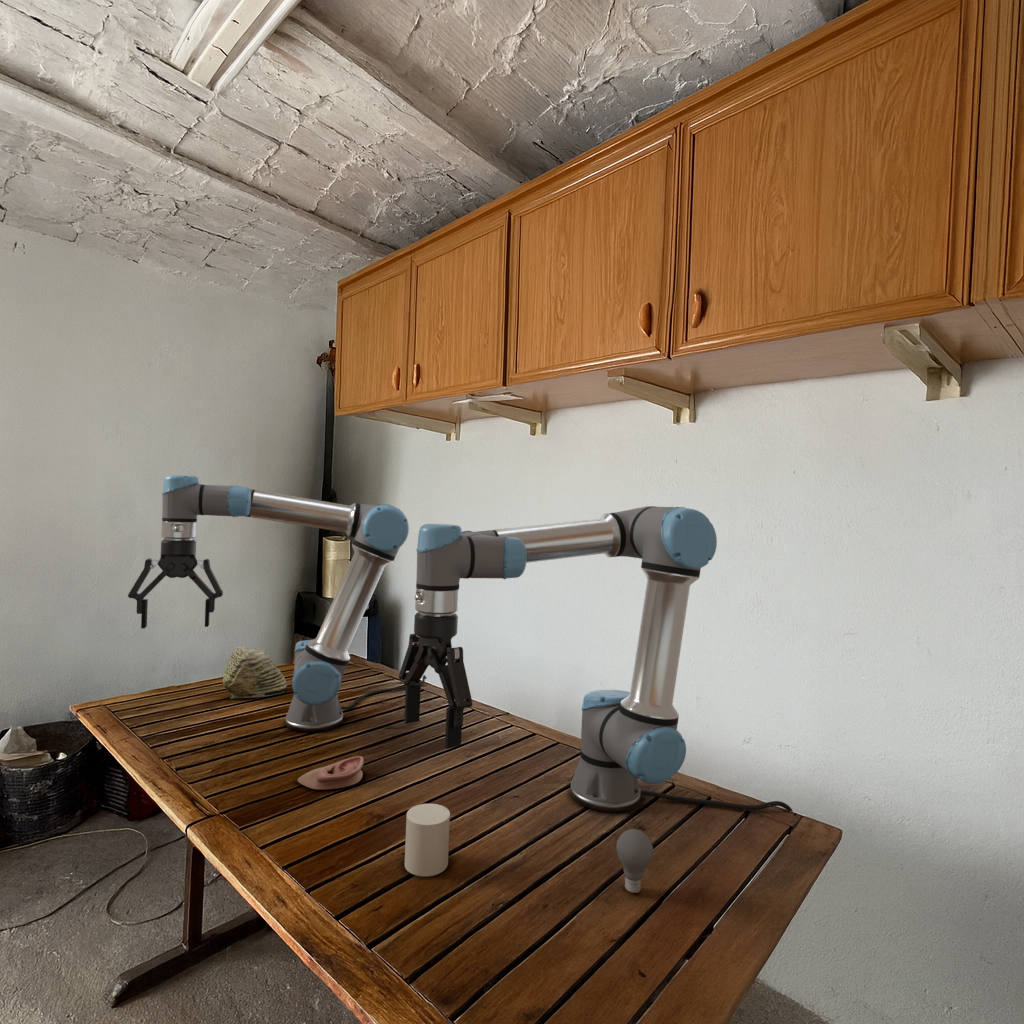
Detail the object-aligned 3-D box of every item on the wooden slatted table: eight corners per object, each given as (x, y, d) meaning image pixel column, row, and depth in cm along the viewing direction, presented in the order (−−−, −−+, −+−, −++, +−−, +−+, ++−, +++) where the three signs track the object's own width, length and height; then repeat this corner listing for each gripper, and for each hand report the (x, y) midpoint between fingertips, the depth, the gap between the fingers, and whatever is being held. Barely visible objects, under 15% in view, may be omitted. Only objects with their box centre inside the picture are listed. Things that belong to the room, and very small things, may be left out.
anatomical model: (290, 768, 137) (317, 748, 149) (290, 786, 138) (316, 764, 149) (347, 776, 135) (370, 755, 146) (346, 794, 135) (369, 772, 146)
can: (406, 878, 107) (408, 826, 106) (403, 853, 114) (405, 804, 114) (450, 874, 108) (452, 823, 108) (445, 850, 116) (447, 802, 115)
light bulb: (610, 879, 108) (613, 822, 108) (644, 879, 109) (647, 822, 109) (619, 902, 102) (622, 840, 102) (655, 901, 103) (658, 840, 103)
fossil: (218, 695, 195) (220, 647, 195) (278, 685, 208) (279, 640, 207) (228, 703, 189) (230, 653, 188) (289, 692, 201) (290, 645, 201)
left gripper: (115, 539, 145) (112, 631, 146) (234, 541, 154) (231, 628, 154) (123, 536, 152) (120, 624, 153) (236, 539, 161) (233, 622, 161)
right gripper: (383, 603, 118) (378, 716, 118) (458, 627, 98) (452, 763, 99) (418, 600, 122) (414, 709, 123) (497, 623, 103) (491, 753, 103)
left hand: (175, 626), depth 153 cm, fingers open, 13 cm apart
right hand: (431, 733), depth 111 cm, fingers open, 13 cm apart
